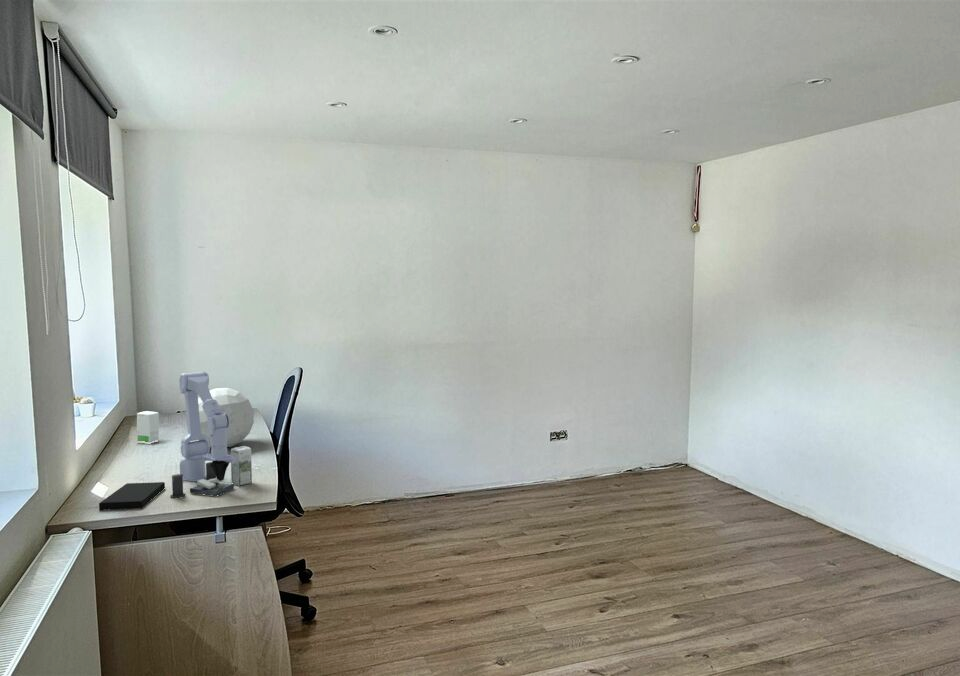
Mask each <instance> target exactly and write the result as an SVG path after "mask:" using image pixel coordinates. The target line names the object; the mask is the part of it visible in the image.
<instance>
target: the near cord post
mask: <svg viewBox="0 0 960 676" xmlns="http://www.w3.org/2000/svg"><path fill="white" fill-rule="evenodd" d="M171 486H172V494H170V495H169V496H170V497H171V498H170V499H172V498H178V499H181V498H180V497H183V498H185V497H186V496H187V495H186V494H187V493H185V492H184V480H183V475H182V474H180V473H177V474H173V475H171ZM185 495H186V496H185ZM184 496H185V497H184Z"/></svg>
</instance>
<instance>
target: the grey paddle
mask: <svg viewBox="0 0 960 676" xmlns="http://www.w3.org/2000/svg"><path fill="white" fill-rule="evenodd" d="M196 484H197V485H201V486H204V487H206V488H208V489H211V488H213V487H215V486H216V484H214V483H212V482H210V481H207V480H206V478H205V479H201V480H199V481H197V482H196Z"/></svg>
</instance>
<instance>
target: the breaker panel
mask: <svg viewBox="0 0 960 676" xmlns="http://www.w3.org/2000/svg"><path fill="white" fill-rule="evenodd" d="M214 484H216V486H215V487H213V488H211V489H208V488H206V487H204V486H201V485H199V484H197V485H195V486H193V487H191V488H189V494H190V493H194V494H193V495H197V494H205V495H213V496H212V497H214V496H217V495H219V496H221V495H224V494H226V493H228V492H230V490H231V491H233V490H235V484H232V483H229V482H222V481H220V482H217V483H214ZM232 489H233V490H232ZM227 491H228V492H227ZM225 492H226V493H225ZM223 493H224V494H223ZM220 494H221V495H220ZM205 495H204V496H205ZM217 497H218V496H217Z"/></svg>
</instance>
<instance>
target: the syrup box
mask: <svg viewBox="0 0 960 676" xmlns="http://www.w3.org/2000/svg"><path fill="white" fill-rule="evenodd" d="M230 456H233V457H237V462H236V463H231V462H230V466H231V467H230V469H231V475H230V476H231V484H232V483H233V484H234V486H237V487H241V486H245V485H248V483H249V484H252V481H253V480H252V478H253V477H252V476H253V475H252V473H253V472H252V471H253V470H252V448H251V447H249V446H246V445H242V446H237V447H233V448H231V449H230ZM244 484H245V485H244ZM240 485H241V486H240Z"/></svg>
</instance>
